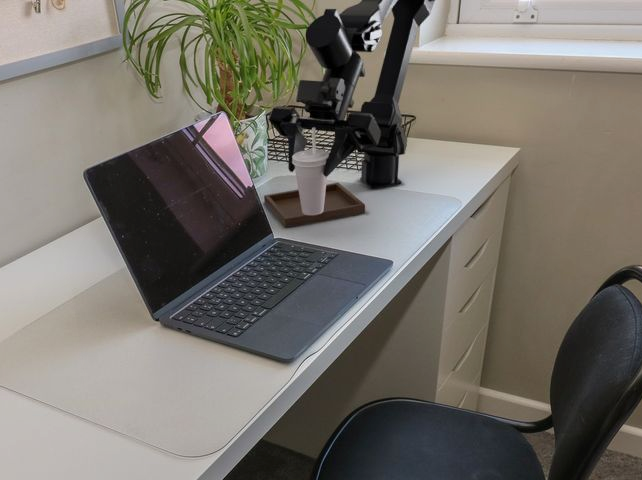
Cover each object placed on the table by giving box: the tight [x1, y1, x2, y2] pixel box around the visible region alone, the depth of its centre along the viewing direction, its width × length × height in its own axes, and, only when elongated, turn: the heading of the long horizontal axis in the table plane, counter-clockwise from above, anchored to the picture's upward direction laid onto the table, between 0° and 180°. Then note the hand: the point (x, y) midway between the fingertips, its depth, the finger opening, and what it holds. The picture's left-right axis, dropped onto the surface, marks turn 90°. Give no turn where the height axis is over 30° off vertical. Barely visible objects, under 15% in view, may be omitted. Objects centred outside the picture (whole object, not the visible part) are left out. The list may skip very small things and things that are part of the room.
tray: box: [263, 182, 366, 229], centre depth 132 cm, size 16×14×2 cm
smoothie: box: [292, 127, 330, 215], centre depth 116 cm, size 6×6×14 cm
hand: (307, 173), depth 115 cm, fingers closed on smoothie, 6 cm apart
